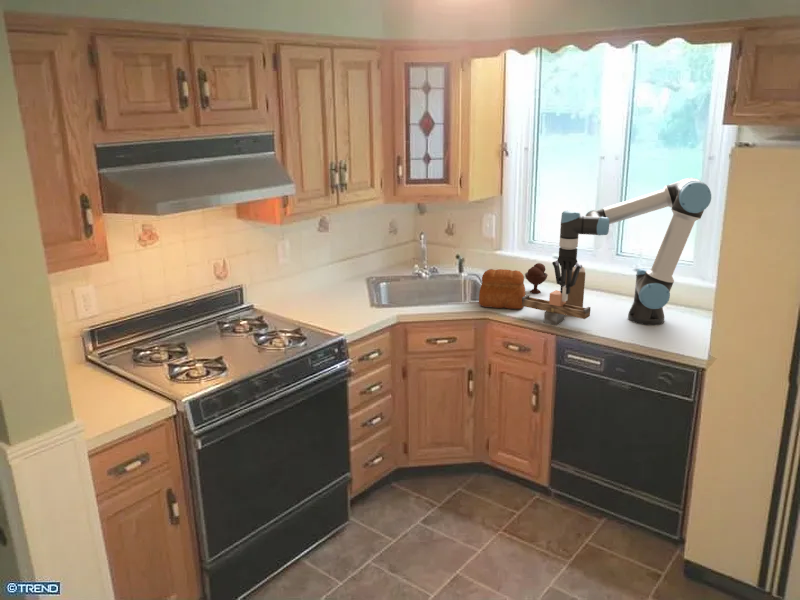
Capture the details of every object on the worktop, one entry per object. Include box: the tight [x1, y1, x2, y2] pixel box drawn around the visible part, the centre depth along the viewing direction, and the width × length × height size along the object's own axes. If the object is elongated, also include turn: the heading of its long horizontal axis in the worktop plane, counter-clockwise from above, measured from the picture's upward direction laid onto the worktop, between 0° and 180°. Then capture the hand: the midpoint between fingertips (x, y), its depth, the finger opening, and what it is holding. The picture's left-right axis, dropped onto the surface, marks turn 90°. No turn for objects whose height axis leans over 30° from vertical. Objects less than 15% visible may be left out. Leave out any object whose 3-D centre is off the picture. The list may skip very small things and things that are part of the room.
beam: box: [522, 294, 591, 326], centre depth 299 cm, size 30×8×9 cm, turn 52°
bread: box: [478, 268, 526, 310], centre depth 323 cm, size 18×21×17 cm
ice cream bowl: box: [524, 262, 549, 295], centre depth 342 cm, size 11×11×15 cm
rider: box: [548, 289, 566, 307], centre depth 297 cm, size 5×6×6 cm
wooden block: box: [565, 266, 586, 308], centre depth 313 cm, size 10×10×20 cm
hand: (564, 300), depth 295 cm, fingers closed
